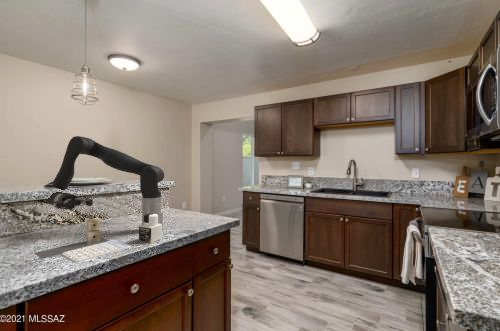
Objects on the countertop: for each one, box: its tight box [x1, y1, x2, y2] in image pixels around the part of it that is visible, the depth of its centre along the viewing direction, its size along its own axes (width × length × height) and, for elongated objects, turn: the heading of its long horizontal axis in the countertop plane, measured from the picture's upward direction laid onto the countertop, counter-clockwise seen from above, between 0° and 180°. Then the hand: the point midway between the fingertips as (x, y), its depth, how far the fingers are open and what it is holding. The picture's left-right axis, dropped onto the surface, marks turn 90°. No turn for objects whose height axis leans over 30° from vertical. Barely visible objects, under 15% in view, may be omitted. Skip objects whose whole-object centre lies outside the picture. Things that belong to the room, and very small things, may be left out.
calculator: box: [61, 239, 130, 263], centre depth 97 cm, size 13×20×2 cm, turn 146°
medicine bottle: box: [138, 213, 163, 245], centre depth 112 cm, size 7×7×12 cm
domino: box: [85, 217, 101, 244], centre depth 107 cm, size 4×2×10 cm, turn 146°
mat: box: [33, 237, 110, 259], centre depth 101 cm, size 24×9×1 cm, turn 146°
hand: (80, 205), depth 113 cm, fingers open, 8 cm apart
